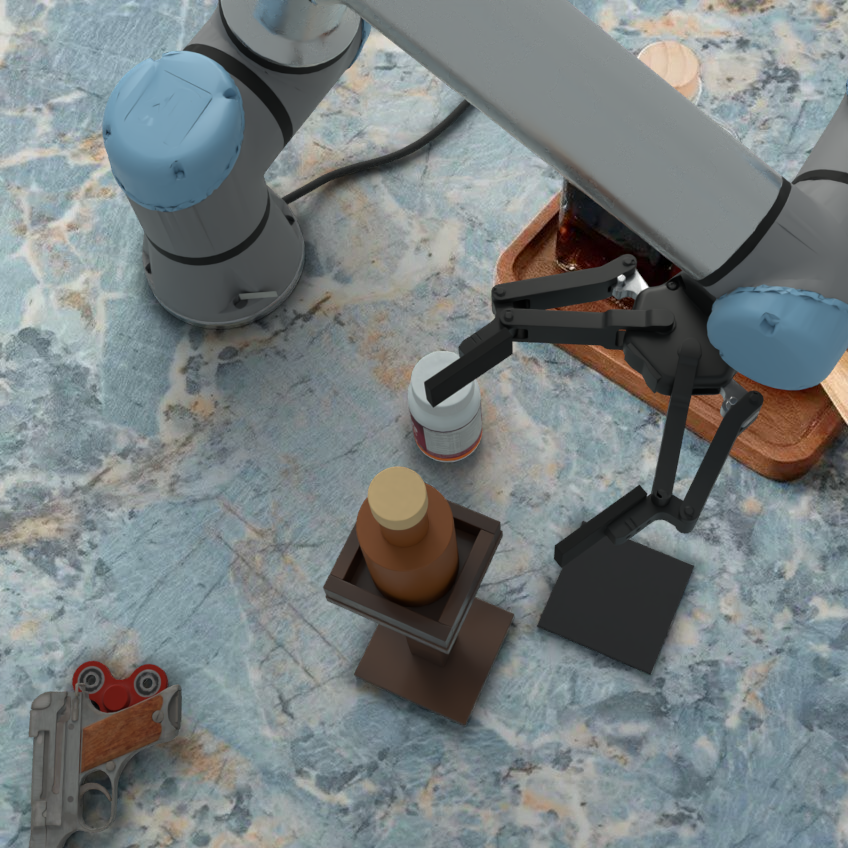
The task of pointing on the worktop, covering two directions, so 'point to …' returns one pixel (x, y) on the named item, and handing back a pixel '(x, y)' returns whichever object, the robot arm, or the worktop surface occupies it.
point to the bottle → (408, 538)
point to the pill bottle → (444, 413)
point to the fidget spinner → (119, 685)
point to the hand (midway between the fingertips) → (490, 474)
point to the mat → (617, 601)
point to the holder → (429, 625)
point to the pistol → (87, 754)
